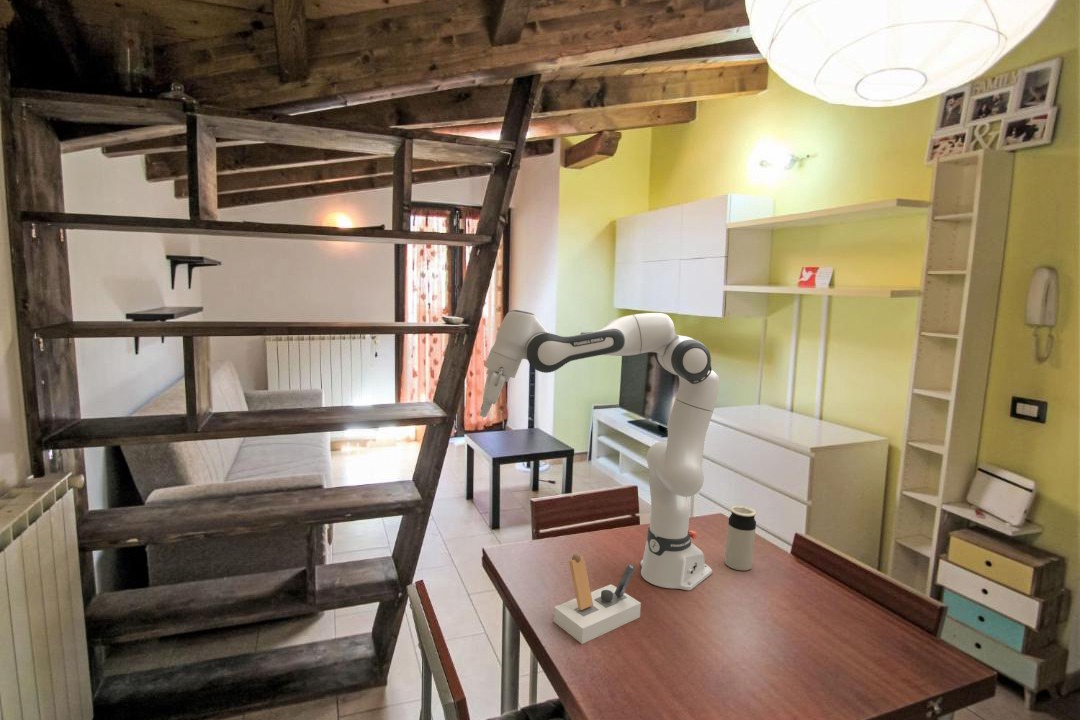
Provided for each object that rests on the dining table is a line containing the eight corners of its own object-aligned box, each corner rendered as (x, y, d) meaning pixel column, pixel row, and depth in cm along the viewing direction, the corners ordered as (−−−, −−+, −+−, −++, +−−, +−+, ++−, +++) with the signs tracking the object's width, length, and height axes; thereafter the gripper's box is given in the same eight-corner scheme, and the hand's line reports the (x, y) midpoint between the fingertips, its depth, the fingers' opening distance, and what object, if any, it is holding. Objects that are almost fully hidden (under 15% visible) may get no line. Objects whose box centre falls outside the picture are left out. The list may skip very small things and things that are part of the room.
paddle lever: (588, 604, 148) (578, 552, 150) (594, 605, 146) (584, 552, 149) (577, 609, 146) (567, 556, 148) (582, 610, 144) (572, 556, 146)
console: (610, 597, 159) (611, 583, 159) (639, 617, 151) (640, 602, 150) (553, 621, 147) (554, 606, 147) (581, 644, 139) (582, 627, 138)
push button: (606, 593, 152) (607, 588, 152) (614, 598, 150) (615, 593, 150) (598, 597, 150) (598, 592, 150) (606, 602, 148) (606, 597, 148)
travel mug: (748, 574, 176) (754, 517, 173) (721, 566, 180) (726, 511, 177) (754, 563, 182) (759, 509, 180) (728, 556, 186) (733, 503, 184)
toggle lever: (618, 589, 154) (632, 561, 149) (624, 596, 152) (638, 568, 148) (612, 592, 152) (625, 563, 148) (618, 599, 151) (631, 570, 146)
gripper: (514, 373, 147) (493, 424, 147) (511, 367, 167) (493, 411, 167) (490, 364, 146) (470, 415, 146) (490, 359, 166) (473, 404, 167)
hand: (482, 413), depth 157 cm, fingers open, 8 cm apart
